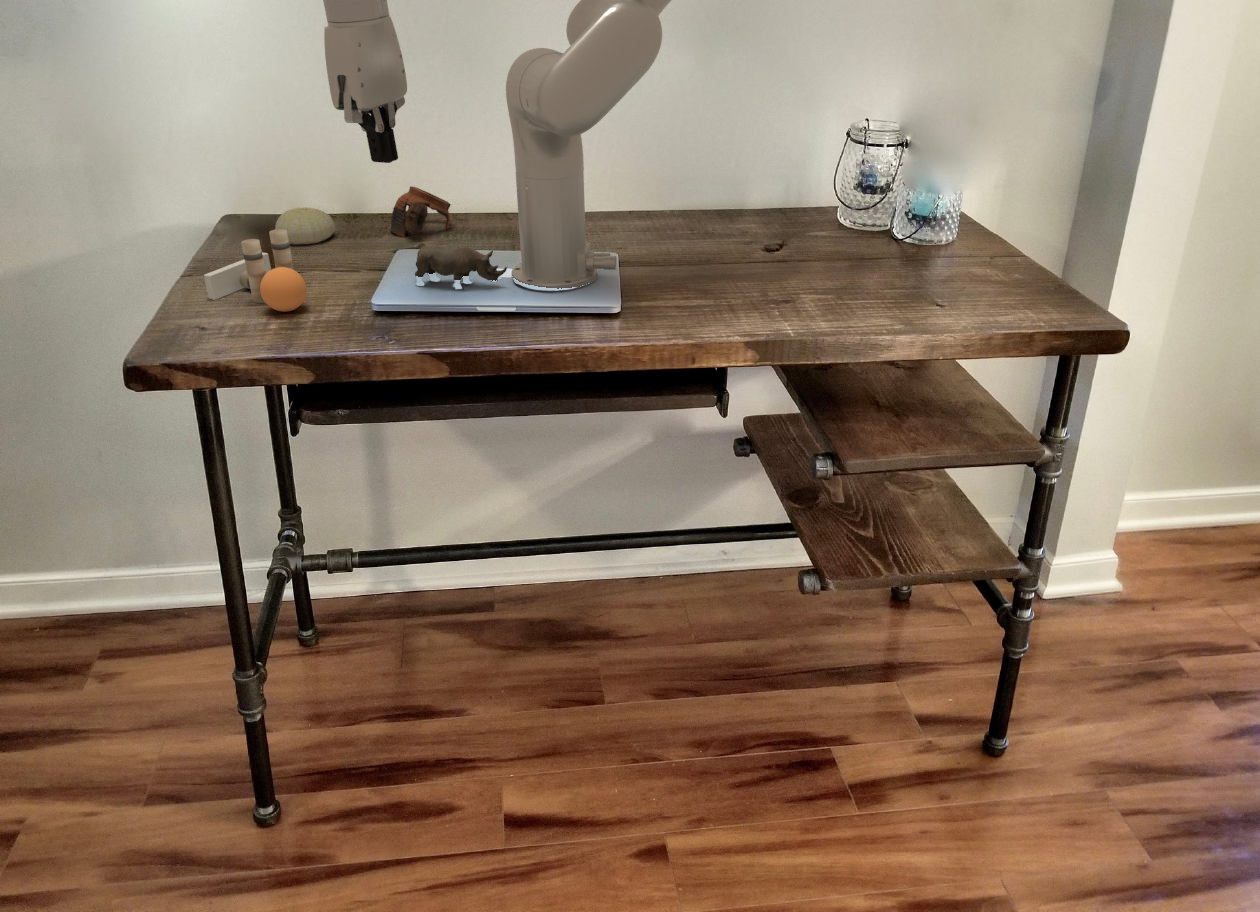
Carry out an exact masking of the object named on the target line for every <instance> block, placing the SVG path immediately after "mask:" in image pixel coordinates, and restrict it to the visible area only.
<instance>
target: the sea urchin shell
mask: <svg viewBox="0 0 1260 912" xmlns="http://www.w3.org/2000/svg"><path fill="white" fill-rule="evenodd" d="M274 227H275V229H285V230H287V234H288V239H289V243H290V245H299V246H300V245H311V244H313V245H314V244H318V243H320V242H323V241H326V240H328V239H329V238H330V237H331V236H333V234H334V232H335V230H336V225H335V221H334V220H333V218H332V217H331V215H329V213H326V212H325V211H322V210H320V209H318V208H313V207H306V206H305V207H295V208H292V209H288V210H286V211H284V212H283V213H281V214H280V216H279V217H278V219H277V220H276V221H275V226H274ZM275 229H274V230H275Z"/></svg>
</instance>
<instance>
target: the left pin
mask: <svg viewBox="0 0 1260 912" xmlns="http://www.w3.org/2000/svg"><path fill="white" fill-rule="evenodd" d="M240 243H241V250H242V255H243V260H245V264H246V269H247V274H248V278H249V283H250V288H251V289H250V292H251V297H252V302H253V303H254V304H266V303H265V301H264V300H263V298H262V296H261V292H260V284H261V281H262V279H263V277H264V276H265V274H266V271H265V266H264V261H263V254H262V252H263V250H262V246H261V242H260V239H258V238H249V239H244V240H242V241H241V242H240Z"/></svg>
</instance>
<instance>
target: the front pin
mask: <svg viewBox="0 0 1260 912" xmlns="http://www.w3.org/2000/svg"><path fill="white" fill-rule="evenodd" d="M240 284H241V285H242V286H243V287H244V288H243V289H250V290H251V288H250V283H249V278H248V274H247V271H245V272H243V273H242V274H241V276H240Z"/></svg>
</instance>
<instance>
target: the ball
mask: <svg viewBox="0 0 1260 912" xmlns="http://www.w3.org/2000/svg"><path fill="white" fill-rule="evenodd" d="M307 290H308V289H307V285H306V282H305V280H304V278H303V277H302V275H301V274H300V273H298V272H297V271H296V270H295V269H294V270H293V269H290V268H286V267H278V268H276V267H275V268H271V270H270V271H269V272H267V273H266V274H265V276H264V277H263V279H262V281H261V284H260V292H261V296H262V298H263V300H264V301H265V303H264V304H266V305H267V306H268V307H270V308H271V309H273V310H275V311H278V312H282V313H284V312H291V311H295V310H297V308H299V307H301V305H302V304H303V303H304V301H305V299H306V297H307Z"/></svg>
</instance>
